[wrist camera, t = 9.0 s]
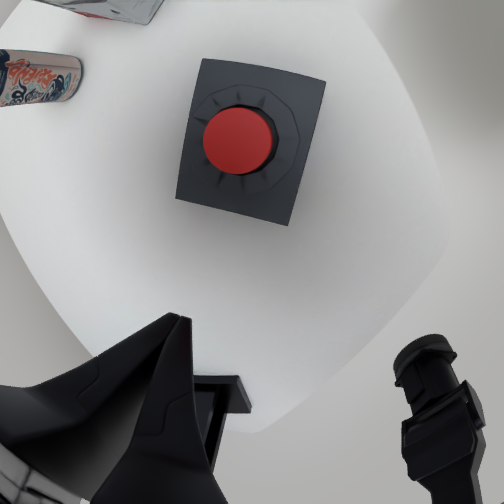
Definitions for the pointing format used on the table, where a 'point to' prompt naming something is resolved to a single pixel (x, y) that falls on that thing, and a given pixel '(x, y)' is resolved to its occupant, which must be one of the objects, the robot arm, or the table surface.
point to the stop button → (237, 140)
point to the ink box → (111, 8)
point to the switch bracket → (217, 408)
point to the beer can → (36, 77)
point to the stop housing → (283, 129)
